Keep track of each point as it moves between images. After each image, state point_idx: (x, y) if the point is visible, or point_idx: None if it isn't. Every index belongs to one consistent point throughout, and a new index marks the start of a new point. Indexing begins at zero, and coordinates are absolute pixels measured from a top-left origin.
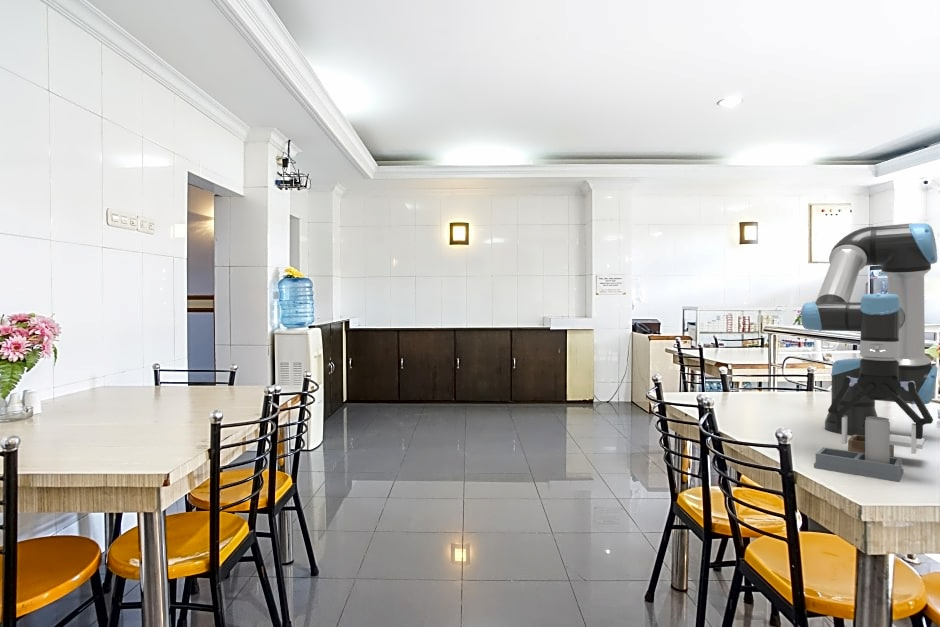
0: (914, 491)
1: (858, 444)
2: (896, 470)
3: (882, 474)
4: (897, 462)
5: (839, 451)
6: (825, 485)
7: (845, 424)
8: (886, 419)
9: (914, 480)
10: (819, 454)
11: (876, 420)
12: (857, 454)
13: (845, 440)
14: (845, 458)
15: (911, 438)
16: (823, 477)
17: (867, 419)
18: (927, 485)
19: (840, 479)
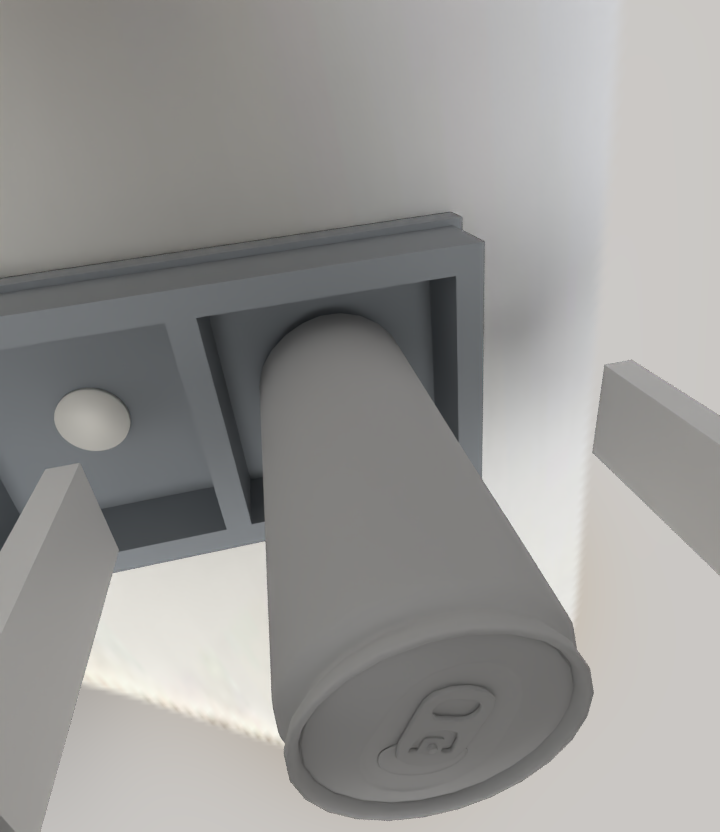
0: (521, 540)
1: None
2: None
3: None
4: (468, 403)
5: (3, 346)
6: (234, 721)
7: (63, 736)
8: (558, 680)
9: (516, 346)
10: None
11: (450, 799)
12: (184, 385)
13: (105, 561)
14: (183, 555)
15: (677, 534)
16: (166, 644)
17: (332, 791)
18: (571, 398)
19: (235, 614)
